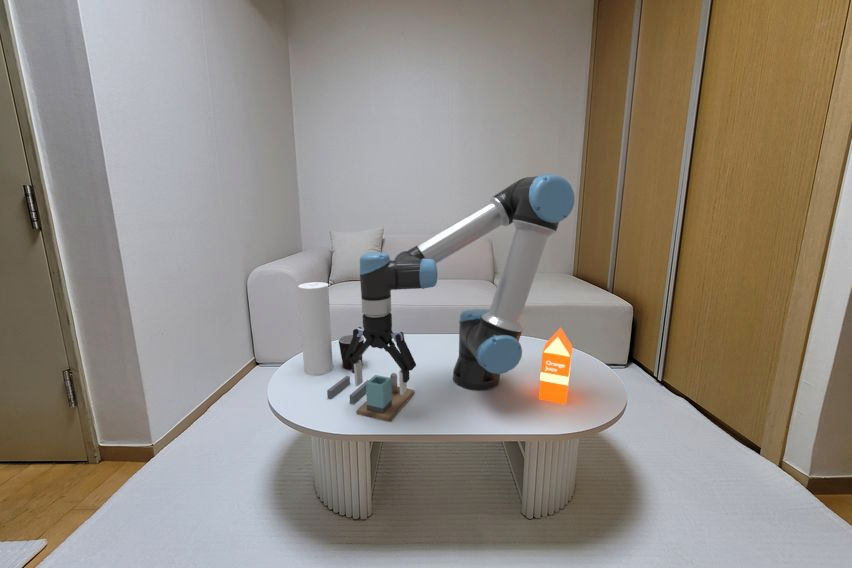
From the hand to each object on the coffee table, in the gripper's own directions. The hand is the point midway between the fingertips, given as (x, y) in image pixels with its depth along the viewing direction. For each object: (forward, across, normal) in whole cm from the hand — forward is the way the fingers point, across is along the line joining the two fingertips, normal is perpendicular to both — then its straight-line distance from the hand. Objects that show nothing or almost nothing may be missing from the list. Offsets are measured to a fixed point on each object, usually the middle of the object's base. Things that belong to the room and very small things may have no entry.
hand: (380, 388), depth 101 cm
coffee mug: (+7, +24, -20) cm, 32 cm away
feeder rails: (+7, +14, -5) cm, 16 cm away
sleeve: (+6, 0, 0) cm, 6 cm away
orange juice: (+8, -43, -27) cm, 52 cm away
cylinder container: (+7, +33, -15) cm, 37 cm away
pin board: (+7, +1, -4) cm, 8 cm away
